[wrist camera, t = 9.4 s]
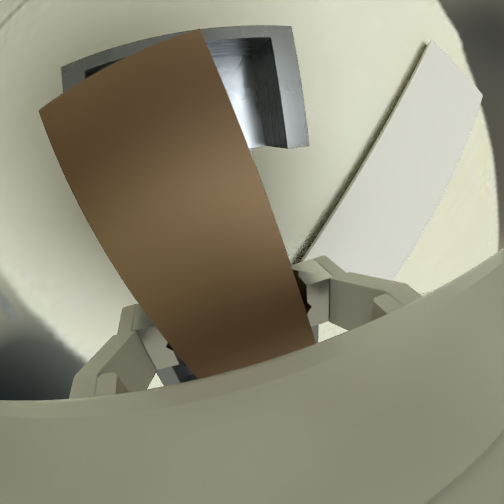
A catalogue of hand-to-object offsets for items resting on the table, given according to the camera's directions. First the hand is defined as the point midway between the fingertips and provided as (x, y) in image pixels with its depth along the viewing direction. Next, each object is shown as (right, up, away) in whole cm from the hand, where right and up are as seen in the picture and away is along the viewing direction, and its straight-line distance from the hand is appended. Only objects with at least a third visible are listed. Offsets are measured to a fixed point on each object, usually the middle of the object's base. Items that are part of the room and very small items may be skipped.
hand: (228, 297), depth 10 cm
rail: (0, +1, +2) cm, 2 cm away
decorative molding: (+17, +12, +17) cm, 27 cm away
